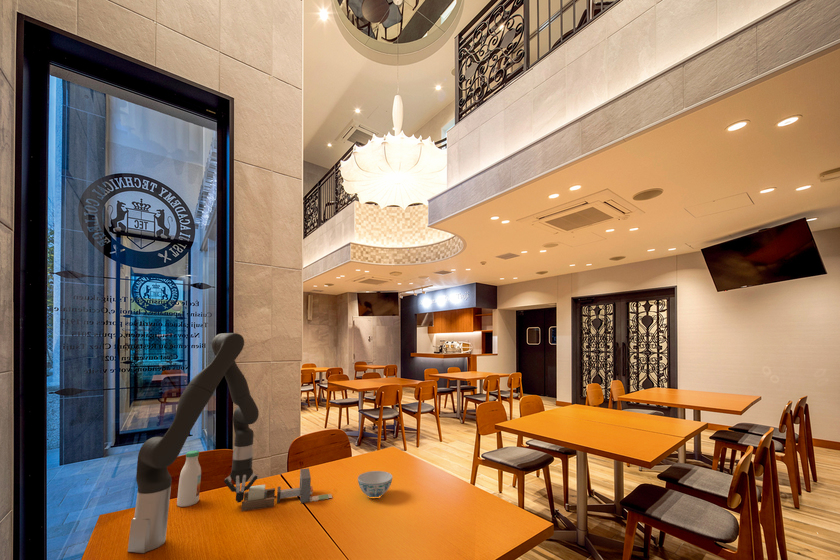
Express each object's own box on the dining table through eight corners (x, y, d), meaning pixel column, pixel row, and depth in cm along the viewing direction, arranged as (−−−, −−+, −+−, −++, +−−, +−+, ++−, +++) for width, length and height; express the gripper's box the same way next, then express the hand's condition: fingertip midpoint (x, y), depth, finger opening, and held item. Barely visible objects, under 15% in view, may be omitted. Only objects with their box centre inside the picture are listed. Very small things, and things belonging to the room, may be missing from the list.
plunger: (276, 504, 149) (277, 494, 150) (277, 496, 157) (277, 486, 158) (313, 499, 154) (313, 489, 155) (311, 492, 162) (311, 482, 162)
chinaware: (386, 505, 150) (386, 484, 151) (351, 501, 153) (352, 481, 154) (396, 490, 164) (396, 472, 166) (364, 488, 167) (364, 469, 169)
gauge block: (247, 508, 147) (248, 491, 148) (248, 501, 153) (249, 486, 154) (265, 505, 150) (266, 489, 151) (266, 499, 155) (267, 484, 156)
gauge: (241, 512, 144) (243, 486, 145) (244, 499, 155) (245, 475, 157) (332, 498, 156) (333, 475, 157) (328, 487, 167) (329, 465, 169)
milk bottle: (191, 507, 148) (196, 454, 151) (172, 507, 148) (177, 454, 151) (202, 499, 155) (207, 449, 158) (184, 499, 155) (189, 448, 159)
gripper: (223, 460, 146) (219, 508, 144) (259, 457, 151) (256, 502, 148) (226, 455, 153) (222, 500, 151) (260, 452, 158) (257, 495, 155)
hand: (239, 501), depth 149 cm, fingers closed
